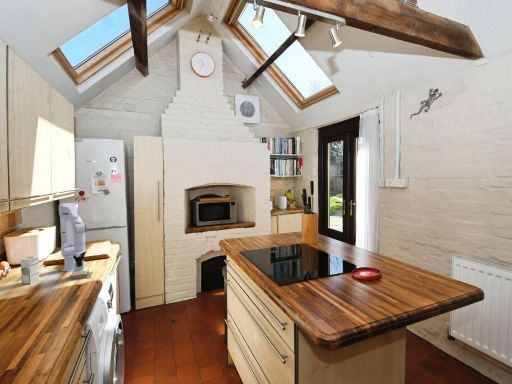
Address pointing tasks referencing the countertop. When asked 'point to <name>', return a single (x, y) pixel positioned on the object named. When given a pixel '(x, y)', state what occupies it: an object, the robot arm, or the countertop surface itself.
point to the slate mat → (81, 278)
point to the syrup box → (29, 270)
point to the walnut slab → (80, 276)
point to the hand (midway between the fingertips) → (80, 265)
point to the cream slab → (80, 271)
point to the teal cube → (79, 267)
